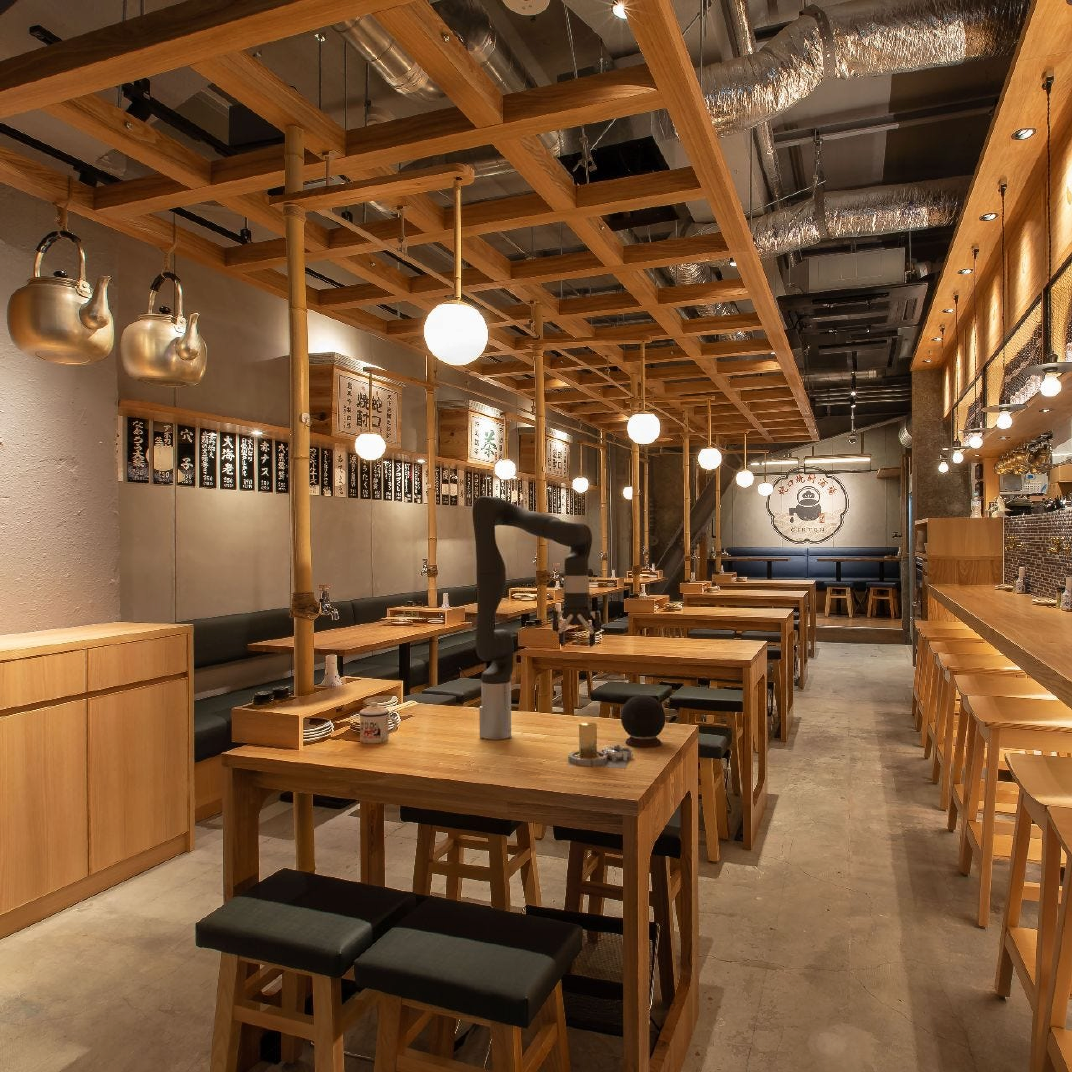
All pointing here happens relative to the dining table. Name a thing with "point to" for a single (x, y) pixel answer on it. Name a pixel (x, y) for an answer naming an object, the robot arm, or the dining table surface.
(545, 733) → the dining table surface
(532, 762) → the dining table surface
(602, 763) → the gear board
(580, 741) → the gear hub
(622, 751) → the gear
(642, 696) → the black ball on stand
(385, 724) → the teacup with lid
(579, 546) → the robot arm
